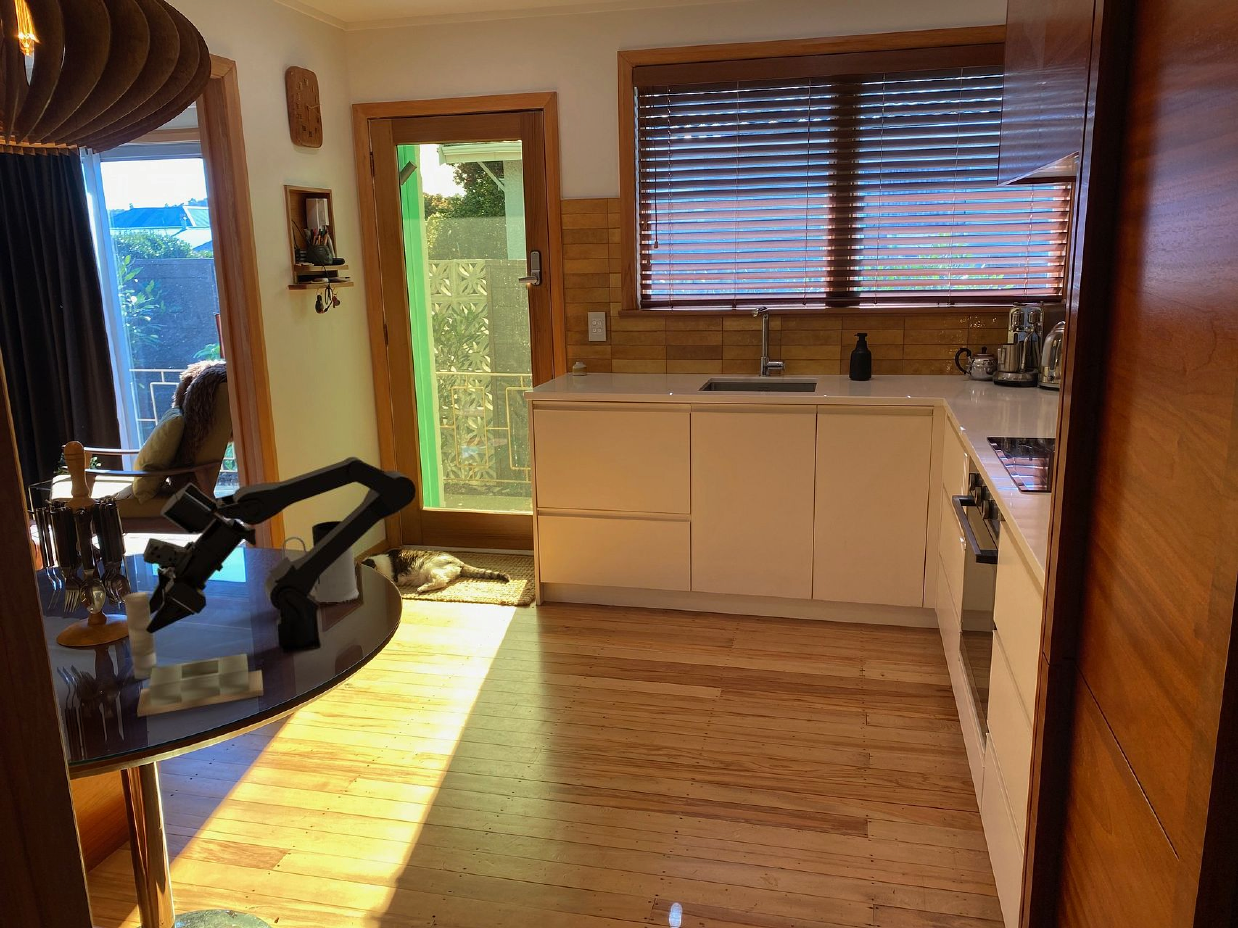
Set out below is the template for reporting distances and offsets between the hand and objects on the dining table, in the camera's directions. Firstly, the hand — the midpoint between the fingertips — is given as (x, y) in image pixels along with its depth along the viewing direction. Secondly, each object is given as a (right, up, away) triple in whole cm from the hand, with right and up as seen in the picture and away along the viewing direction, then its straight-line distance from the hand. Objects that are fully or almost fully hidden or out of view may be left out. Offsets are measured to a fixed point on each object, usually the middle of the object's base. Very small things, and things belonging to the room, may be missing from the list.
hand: (146, 622), depth 157 cm
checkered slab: (+12, -10, -7) cm, 17 cm away
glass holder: (+18, -1, +37) cm, 41 cm away
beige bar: (-1, -9, +1) cm, 9 cm away
